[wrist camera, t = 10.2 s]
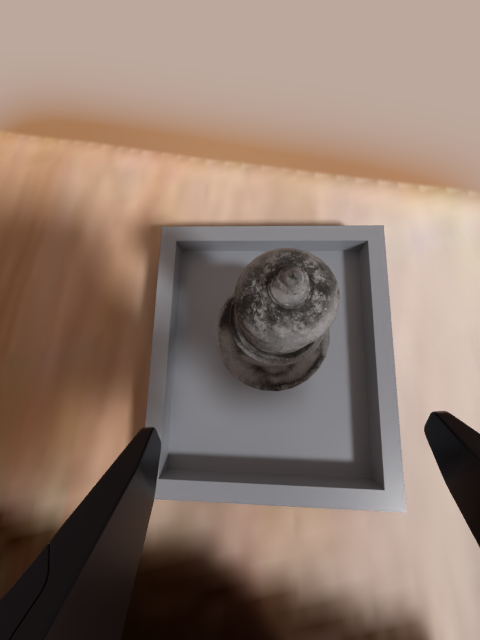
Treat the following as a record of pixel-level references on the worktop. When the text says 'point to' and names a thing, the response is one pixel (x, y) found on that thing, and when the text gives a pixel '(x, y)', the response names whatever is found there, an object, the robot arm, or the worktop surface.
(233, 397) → the grey tray
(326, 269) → the grey tall rounded piece
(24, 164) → the worktop surface
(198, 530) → the worktop surface
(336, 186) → the worktop surface
